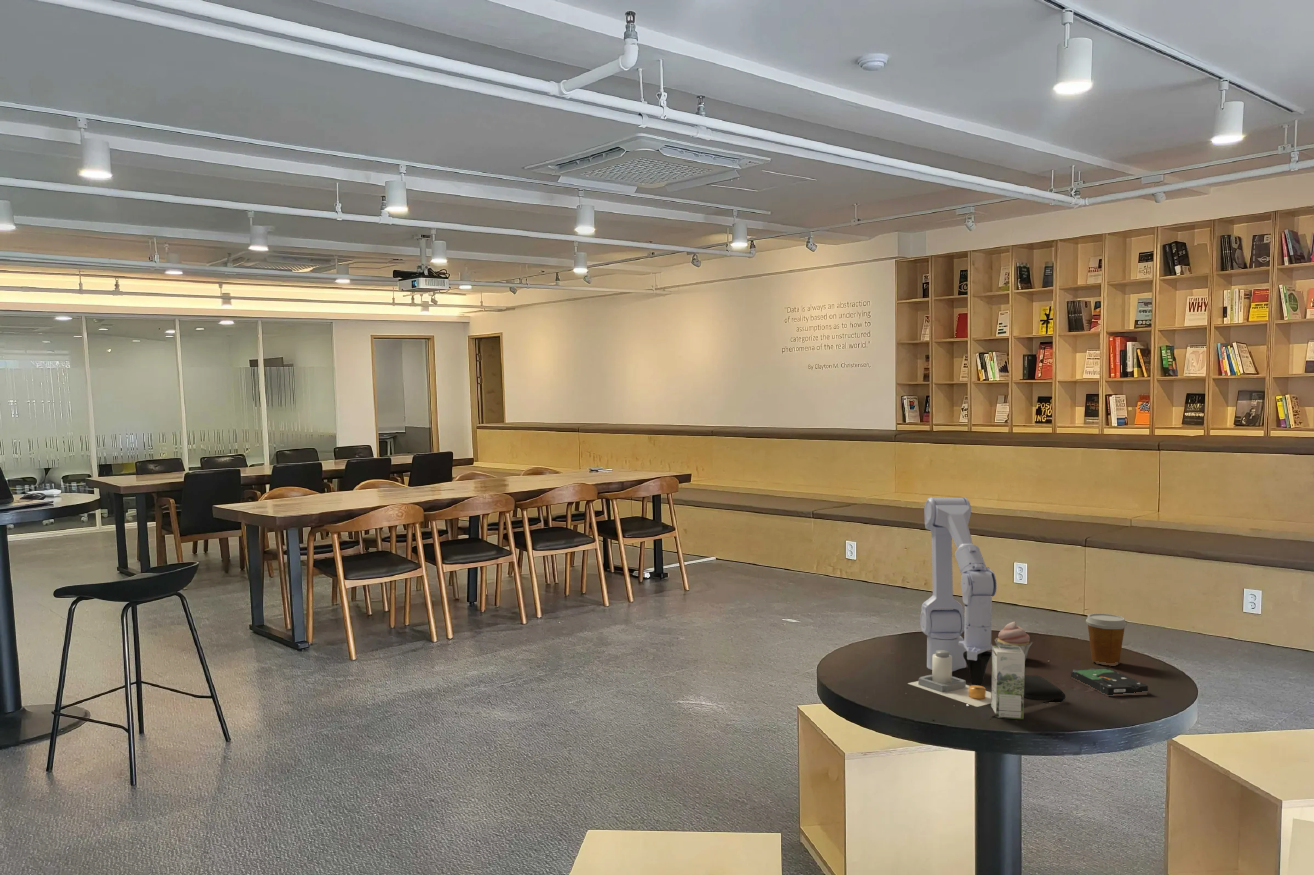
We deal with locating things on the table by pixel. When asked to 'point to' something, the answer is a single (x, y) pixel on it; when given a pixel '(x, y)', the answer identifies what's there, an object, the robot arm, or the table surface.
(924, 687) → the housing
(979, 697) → the orange short cylinder
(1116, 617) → the disposable coffee cup
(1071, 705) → the table surface
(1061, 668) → the table surface
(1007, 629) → the cupcake
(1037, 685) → the carrying case or bag
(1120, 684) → the disk drive
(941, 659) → the cylinder
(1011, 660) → the syrup box
